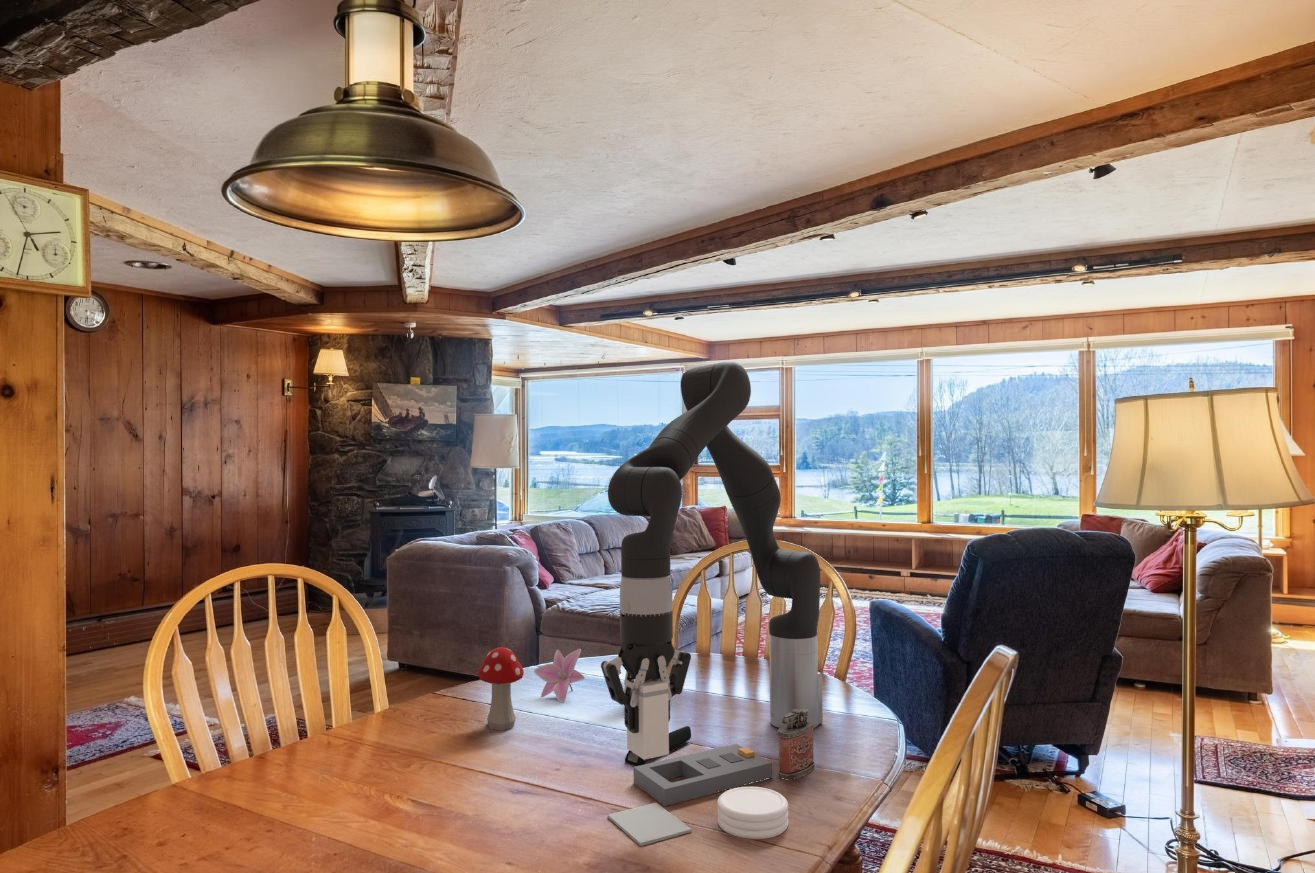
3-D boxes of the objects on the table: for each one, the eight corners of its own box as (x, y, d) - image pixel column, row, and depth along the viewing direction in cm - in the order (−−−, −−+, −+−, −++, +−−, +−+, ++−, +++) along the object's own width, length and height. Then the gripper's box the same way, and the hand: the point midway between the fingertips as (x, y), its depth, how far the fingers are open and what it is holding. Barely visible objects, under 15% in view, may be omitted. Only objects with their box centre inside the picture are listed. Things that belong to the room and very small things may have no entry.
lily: (532, 694, 182) (521, 662, 177) (577, 667, 187) (568, 635, 182) (557, 724, 172) (546, 691, 168) (603, 695, 177) (594, 662, 173)
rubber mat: (655, 805, 121) (655, 802, 121) (691, 831, 112) (691, 828, 112) (607, 817, 117) (607, 814, 117) (640, 846, 108) (640, 843, 108)
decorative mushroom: (530, 729, 155) (529, 650, 155) (485, 736, 151) (485, 655, 152) (515, 714, 164) (515, 640, 164) (473, 721, 160) (472, 645, 161)
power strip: (736, 758, 139) (736, 739, 139) (772, 778, 130) (772, 758, 130) (633, 782, 129) (633, 762, 129) (665, 806, 120) (664, 784, 120)
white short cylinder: (703, 824, 115) (702, 799, 115) (747, 802, 122) (747, 779, 122) (759, 848, 108) (758, 822, 108) (802, 823, 115) (802, 798, 115)
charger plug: (651, 743, 118) (650, 674, 118) (669, 754, 113) (668, 682, 114) (626, 748, 116) (626, 678, 116) (643, 759, 111) (643, 686, 112)
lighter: (802, 762, 137) (801, 703, 137) (819, 767, 134) (818, 707, 135) (773, 776, 131) (772, 714, 131) (790, 782, 129) (789, 718, 129)
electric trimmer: (697, 744, 147) (696, 727, 147) (639, 769, 135) (639, 749, 136) (681, 740, 150) (680, 722, 150) (623, 763, 138) (623, 744, 138)
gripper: (675, 598, 122) (676, 713, 122) (589, 608, 115) (590, 729, 115) (702, 606, 115) (704, 727, 115) (613, 616, 108) (614, 746, 108)
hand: (647, 728), depth 115 cm, fingers closed on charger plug, 4 cm apart
